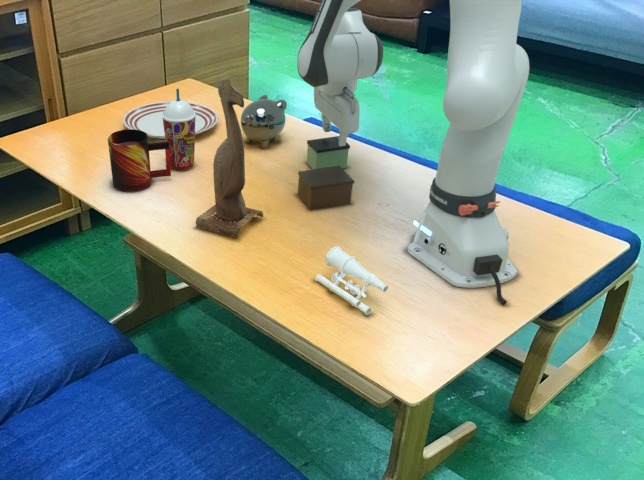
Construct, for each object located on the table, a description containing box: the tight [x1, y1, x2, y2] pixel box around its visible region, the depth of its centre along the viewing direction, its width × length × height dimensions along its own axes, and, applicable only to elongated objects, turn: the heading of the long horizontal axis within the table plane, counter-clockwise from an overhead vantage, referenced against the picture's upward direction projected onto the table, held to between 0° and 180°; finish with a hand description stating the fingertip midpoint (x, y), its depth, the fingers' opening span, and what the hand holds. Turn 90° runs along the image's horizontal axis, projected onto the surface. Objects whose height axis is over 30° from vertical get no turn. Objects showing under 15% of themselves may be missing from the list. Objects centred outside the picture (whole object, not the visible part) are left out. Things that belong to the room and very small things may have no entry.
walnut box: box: [297, 166, 355, 211], centre depth 158 cm, size 8×10×6 cm
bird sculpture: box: [195, 77, 264, 239], centre depth 142 cm, size 11×12×32 cm
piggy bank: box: [240, 94, 288, 149], centre depth 183 cm, size 11×15×12 cm
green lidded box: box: [306, 135, 351, 170], centre depth 172 cm, size 6×9×6 cm
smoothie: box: [162, 88, 196, 172], centre depth 170 cm, size 8×8×20 cm
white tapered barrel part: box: [314, 245, 389, 316], centre depth 128 cm, size 8×14×5 cm
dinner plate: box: [122, 100, 219, 140], centre depth 195 cm, size 27×27×3 cm
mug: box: [107, 128, 172, 193], centre depth 166 cm, size 10×14×12 cm
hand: (333, 137), depth 169 cm, fingers open, 8 cm apart
